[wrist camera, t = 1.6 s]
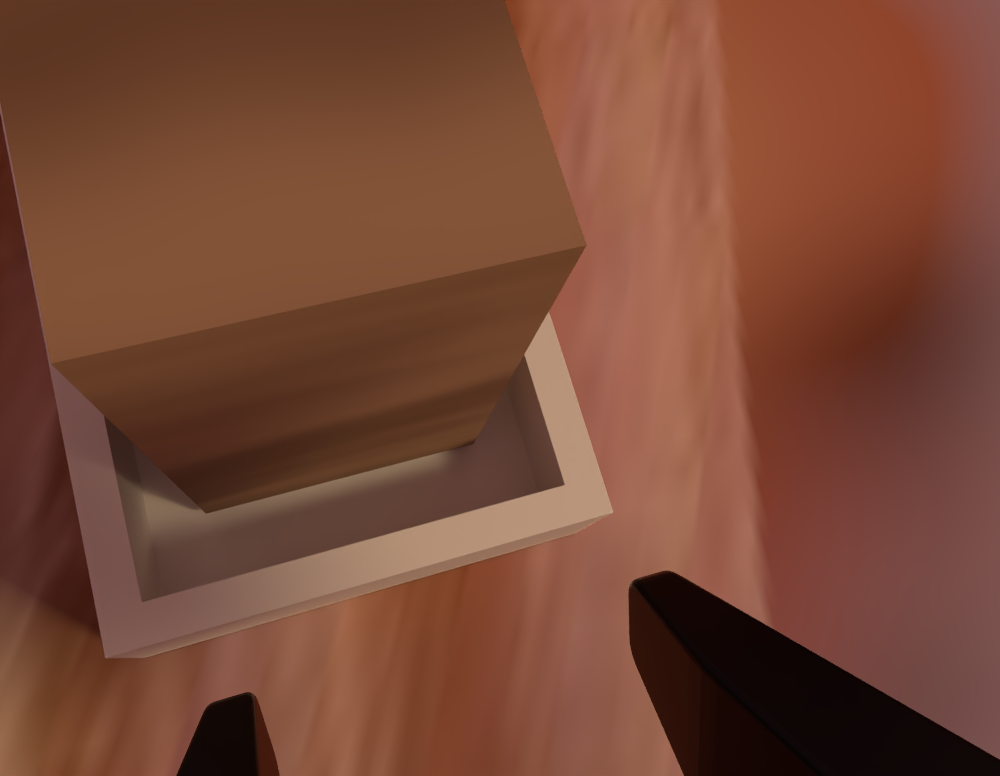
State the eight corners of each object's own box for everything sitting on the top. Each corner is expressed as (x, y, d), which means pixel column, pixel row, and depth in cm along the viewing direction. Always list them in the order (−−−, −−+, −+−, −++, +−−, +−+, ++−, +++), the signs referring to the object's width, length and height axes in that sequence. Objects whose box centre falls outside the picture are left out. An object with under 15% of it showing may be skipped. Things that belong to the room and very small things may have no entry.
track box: (574, 533, 23) (613, 512, 19) (145, 657, 21) (105, 658, 17) (355, -175, 27) (356, -289, 24) (-15, -132, 25) (-71, -252, 22)
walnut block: (473, 443, 22) (586, 244, 11) (205, 513, 20) (50, 362, 10) (415, 245, 23) (468, -106, 12) (158, 300, 21) (-28, -39, 11)
